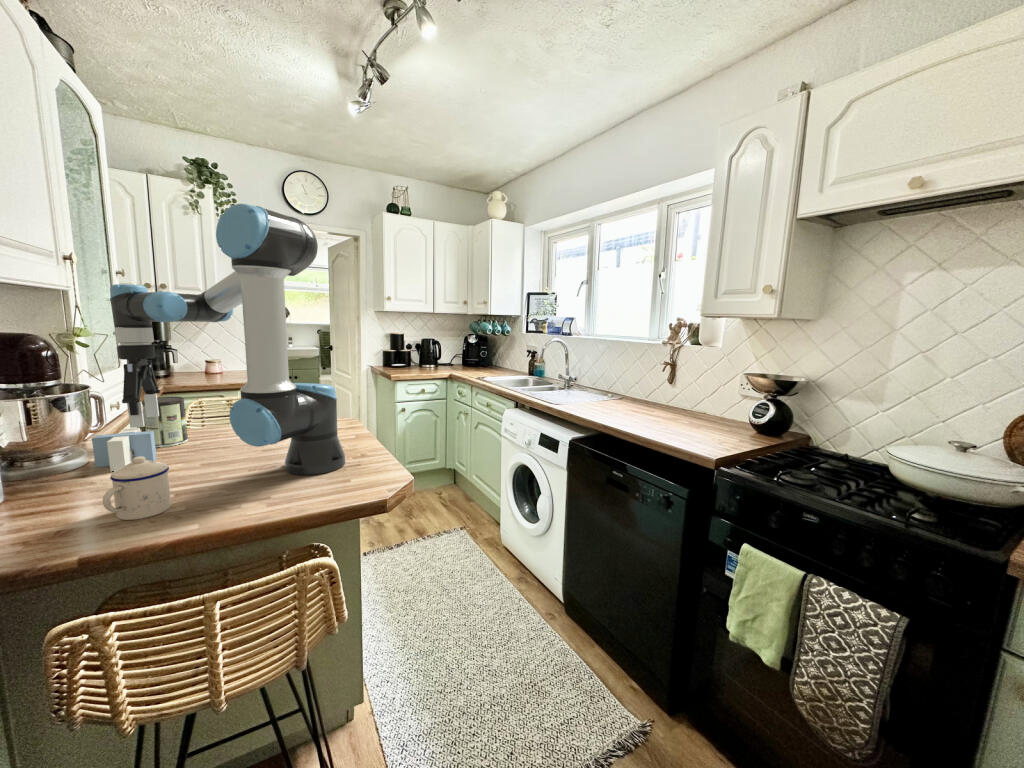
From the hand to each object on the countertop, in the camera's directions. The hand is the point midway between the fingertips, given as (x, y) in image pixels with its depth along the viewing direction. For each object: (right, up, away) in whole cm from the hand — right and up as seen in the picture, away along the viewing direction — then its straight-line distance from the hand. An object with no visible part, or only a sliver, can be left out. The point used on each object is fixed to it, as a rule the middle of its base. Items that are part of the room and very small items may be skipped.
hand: (145, 421), depth 116 cm
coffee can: (-9, -9, +18) cm, 22 cm away
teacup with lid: (+24, -17, -29) cm, 41 cm away
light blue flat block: (-5, -11, 0) cm, 12 cm away
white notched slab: (-5, -11, 0) cm, 12 cm away
